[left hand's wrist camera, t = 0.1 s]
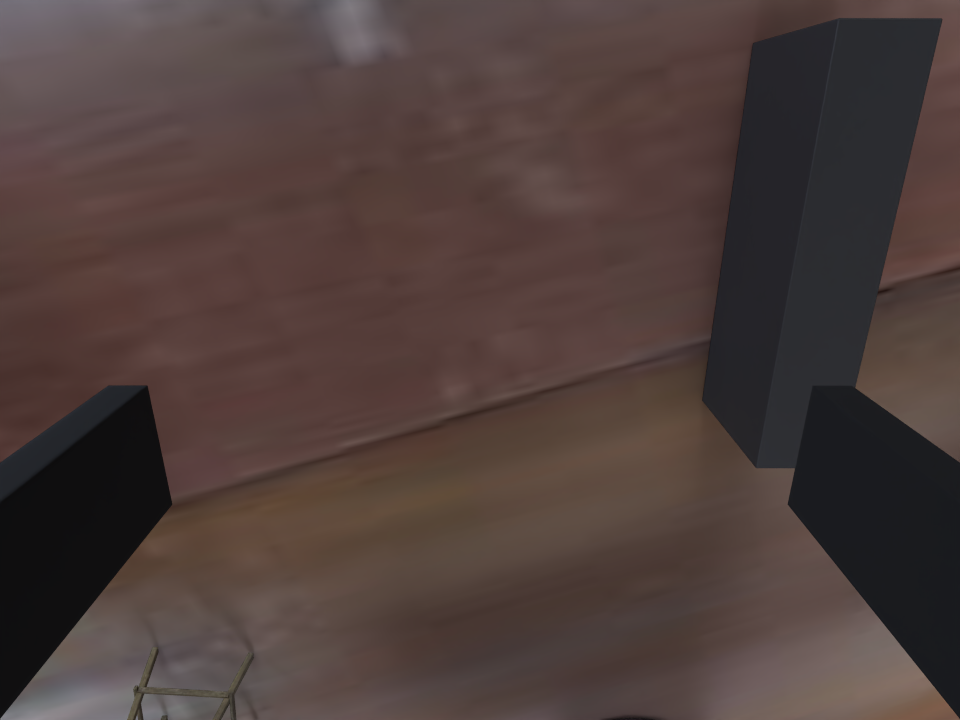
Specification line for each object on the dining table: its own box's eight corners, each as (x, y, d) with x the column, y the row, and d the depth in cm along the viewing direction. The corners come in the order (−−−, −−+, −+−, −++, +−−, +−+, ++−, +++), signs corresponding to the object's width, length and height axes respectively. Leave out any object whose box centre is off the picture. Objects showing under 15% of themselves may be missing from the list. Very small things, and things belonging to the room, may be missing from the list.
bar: (766, 400, 43) (836, 468, 34) (701, 400, 43) (755, 468, 34) (832, 43, 35) (943, 18, 27) (752, 42, 35) (838, 18, 27)
